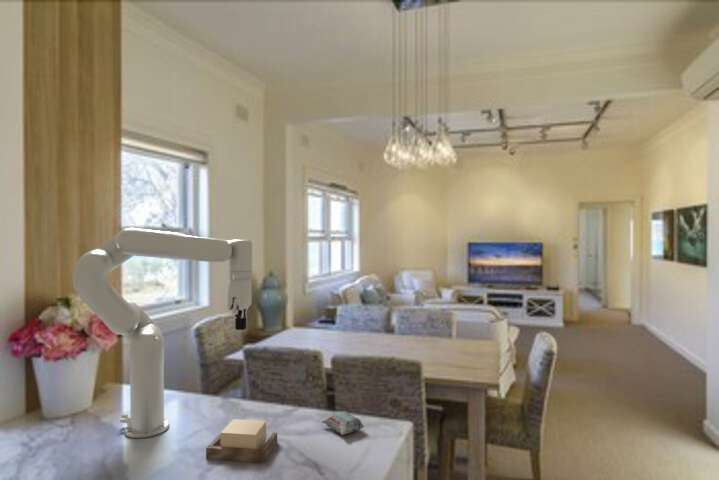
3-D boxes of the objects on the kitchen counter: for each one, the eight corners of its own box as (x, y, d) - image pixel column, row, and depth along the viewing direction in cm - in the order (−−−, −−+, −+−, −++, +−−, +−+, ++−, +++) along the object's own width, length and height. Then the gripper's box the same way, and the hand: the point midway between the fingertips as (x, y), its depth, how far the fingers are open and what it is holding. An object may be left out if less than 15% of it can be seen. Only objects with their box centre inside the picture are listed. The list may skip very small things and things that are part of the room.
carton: (220, 457, 122) (220, 432, 122) (233, 442, 131) (233, 419, 131) (255, 460, 121) (255, 434, 121) (266, 444, 130) (266, 420, 130)
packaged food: (342, 441, 132) (342, 424, 132) (320, 427, 141) (320, 412, 141) (364, 433, 137) (365, 417, 137) (342, 420, 147) (342, 406, 147)
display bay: (206, 458, 121) (206, 447, 121) (224, 439, 133) (224, 429, 133) (263, 463, 119) (263, 452, 119) (277, 442, 131) (277, 432, 130)
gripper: (239, 273, 159) (239, 324, 159) (220, 277, 144) (220, 333, 144) (259, 274, 157) (259, 325, 158) (242, 278, 143) (242, 334, 143)
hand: (240, 329), depth 151 cm, fingers closed
